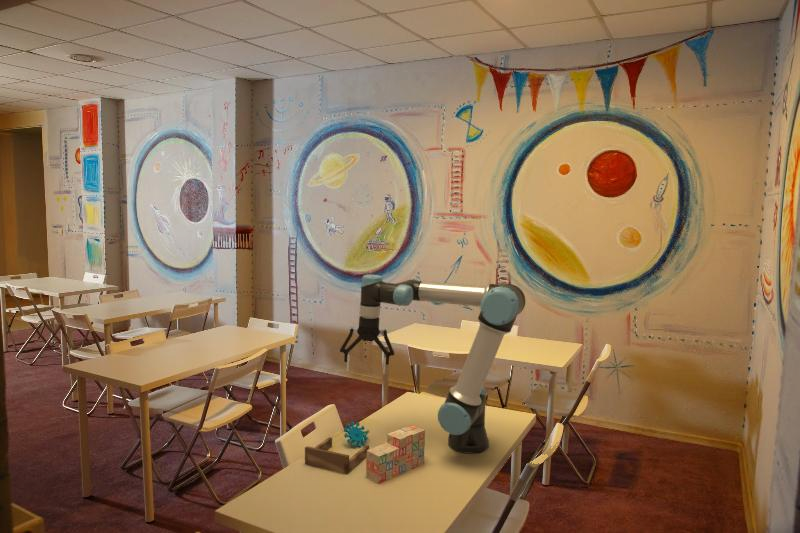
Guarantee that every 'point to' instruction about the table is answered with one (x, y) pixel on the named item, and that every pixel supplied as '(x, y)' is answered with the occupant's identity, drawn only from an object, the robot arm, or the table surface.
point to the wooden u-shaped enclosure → (333, 457)
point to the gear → (356, 434)
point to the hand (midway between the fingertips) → (365, 371)
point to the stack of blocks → (396, 454)
